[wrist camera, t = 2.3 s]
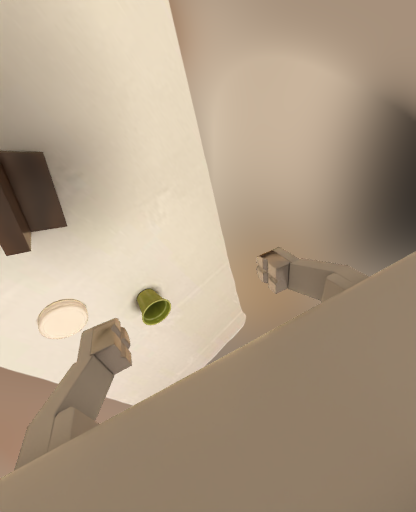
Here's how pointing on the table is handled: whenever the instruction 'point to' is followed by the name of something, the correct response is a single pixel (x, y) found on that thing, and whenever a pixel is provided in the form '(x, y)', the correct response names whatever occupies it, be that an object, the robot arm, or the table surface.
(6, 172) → the walnut bookend
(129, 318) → the table surface
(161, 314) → the plant pot
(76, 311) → the coaster
